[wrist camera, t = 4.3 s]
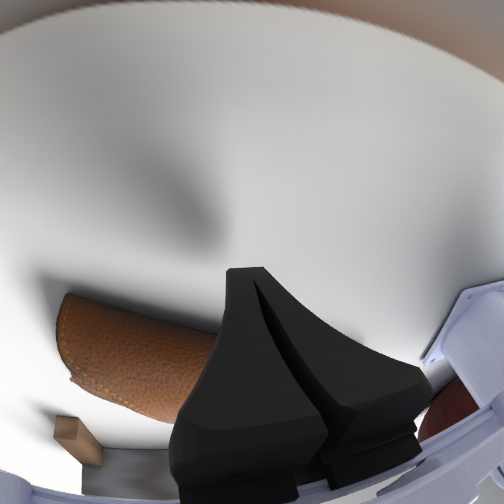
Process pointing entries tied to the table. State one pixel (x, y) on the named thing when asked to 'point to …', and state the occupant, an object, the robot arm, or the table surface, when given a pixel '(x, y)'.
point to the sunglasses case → (131, 357)
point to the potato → (447, 410)
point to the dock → (117, 467)
